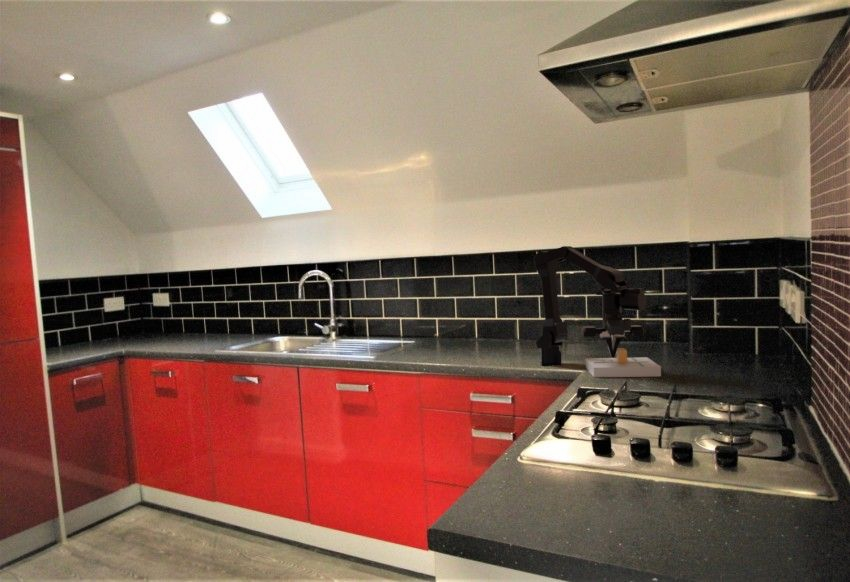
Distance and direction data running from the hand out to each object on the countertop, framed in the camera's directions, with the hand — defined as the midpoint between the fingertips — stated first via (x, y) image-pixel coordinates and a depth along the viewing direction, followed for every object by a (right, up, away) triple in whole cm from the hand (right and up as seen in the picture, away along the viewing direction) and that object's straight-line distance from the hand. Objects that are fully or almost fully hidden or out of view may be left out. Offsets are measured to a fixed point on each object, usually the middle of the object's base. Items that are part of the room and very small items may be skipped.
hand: (612, 357), depth 189 cm
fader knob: (+3, -5, 0) cm, 5 cm away
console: (+3, -5, 0) cm, 5 cm away
